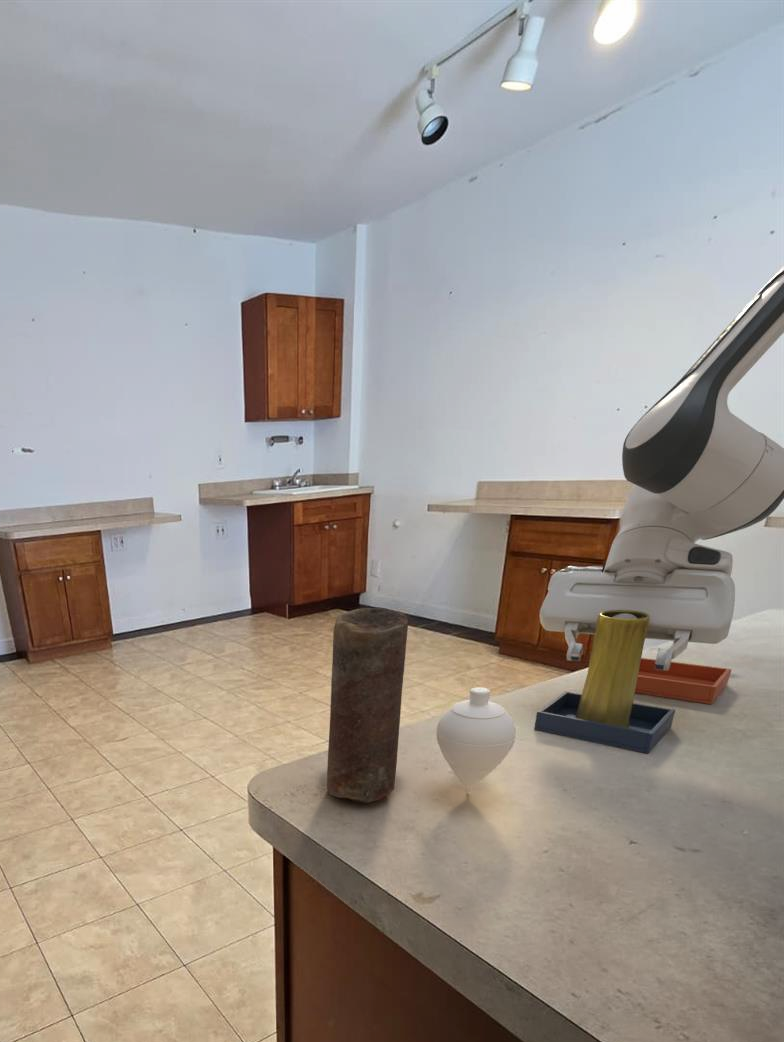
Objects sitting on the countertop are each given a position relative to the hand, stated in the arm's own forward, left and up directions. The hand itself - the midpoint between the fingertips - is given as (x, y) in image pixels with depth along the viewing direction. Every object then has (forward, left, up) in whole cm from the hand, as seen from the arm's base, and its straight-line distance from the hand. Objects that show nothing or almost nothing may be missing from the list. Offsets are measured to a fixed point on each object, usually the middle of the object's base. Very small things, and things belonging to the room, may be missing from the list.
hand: (615, 663), depth 78 cm
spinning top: (+5, +27, -9) cm, 29 cm away
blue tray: (0, 0, -9) cm, 9 cm away
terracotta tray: (-2, -22, -9) cm, 24 cm away
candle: (+14, +34, -9) cm, 38 cm away
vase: (0, -1, -9) cm, 9 cm away
